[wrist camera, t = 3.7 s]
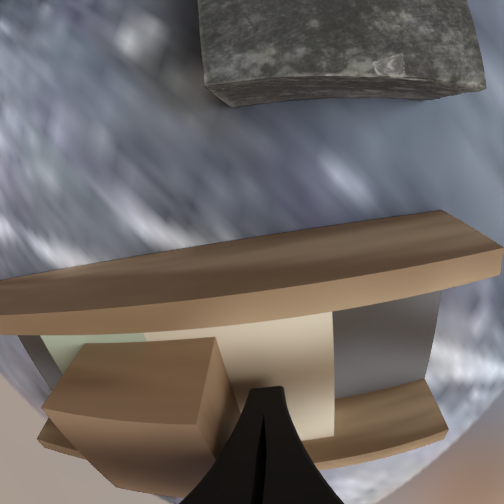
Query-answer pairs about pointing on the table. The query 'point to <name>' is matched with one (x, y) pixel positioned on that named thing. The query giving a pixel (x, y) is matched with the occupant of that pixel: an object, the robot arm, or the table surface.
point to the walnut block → (147, 411)
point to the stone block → (338, 49)
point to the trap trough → (279, 322)
